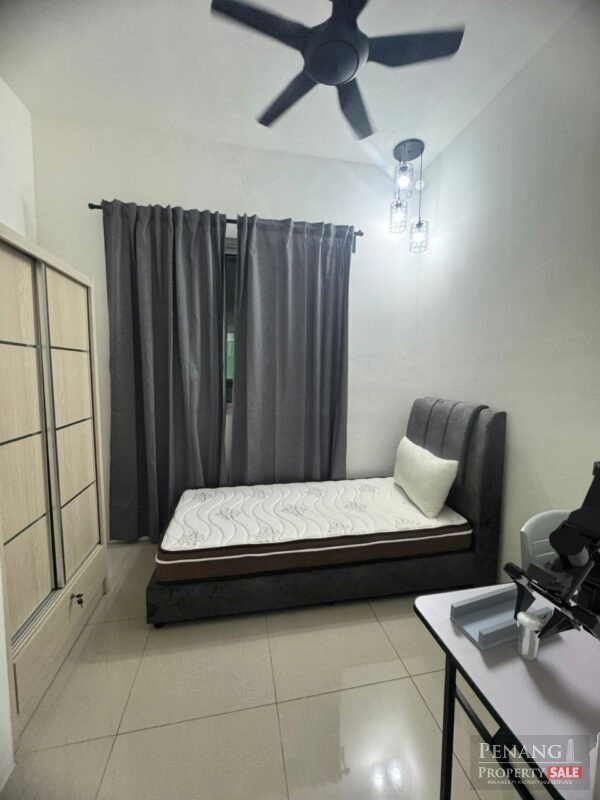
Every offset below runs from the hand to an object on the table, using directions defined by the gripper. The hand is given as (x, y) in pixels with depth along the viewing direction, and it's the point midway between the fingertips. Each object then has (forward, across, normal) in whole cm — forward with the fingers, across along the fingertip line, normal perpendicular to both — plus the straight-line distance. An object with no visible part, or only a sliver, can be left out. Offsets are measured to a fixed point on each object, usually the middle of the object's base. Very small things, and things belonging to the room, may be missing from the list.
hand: (526, 628), depth 69 cm
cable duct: (+2, -8, +7) cm, 11 cm away
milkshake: (+4, 0, +6) cm, 7 cm away
